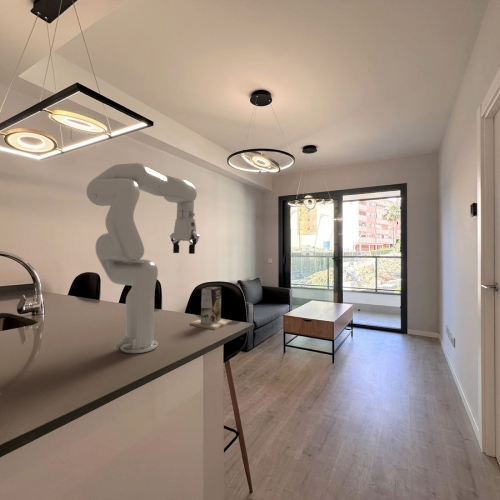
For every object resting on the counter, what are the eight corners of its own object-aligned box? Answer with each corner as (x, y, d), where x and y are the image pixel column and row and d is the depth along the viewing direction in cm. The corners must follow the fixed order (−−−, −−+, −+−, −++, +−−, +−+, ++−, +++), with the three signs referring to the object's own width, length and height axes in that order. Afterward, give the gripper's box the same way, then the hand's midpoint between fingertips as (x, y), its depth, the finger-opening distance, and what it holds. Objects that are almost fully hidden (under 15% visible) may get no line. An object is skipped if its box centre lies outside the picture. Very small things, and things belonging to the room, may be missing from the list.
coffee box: (213, 324, 131) (213, 289, 130) (200, 323, 133) (201, 288, 132) (221, 320, 139) (222, 286, 139) (209, 318, 141) (209, 285, 141)
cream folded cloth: (214, 329, 127) (214, 327, 127) (189, 324, 134) (189, 322, 134) (231, 322, 139) (231, 320, 139) (208, 318, 146) (208, 316, 146)
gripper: (205, 216, 131) (203, 254, 131) (177, 217, 140) (176, 252, 140) (193, 214, 124) (192, 253, 124) (165, 215, 133) (164, 252, 133)
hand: (183, 253), depth 132 cm, fingers open, 9 cm apart
